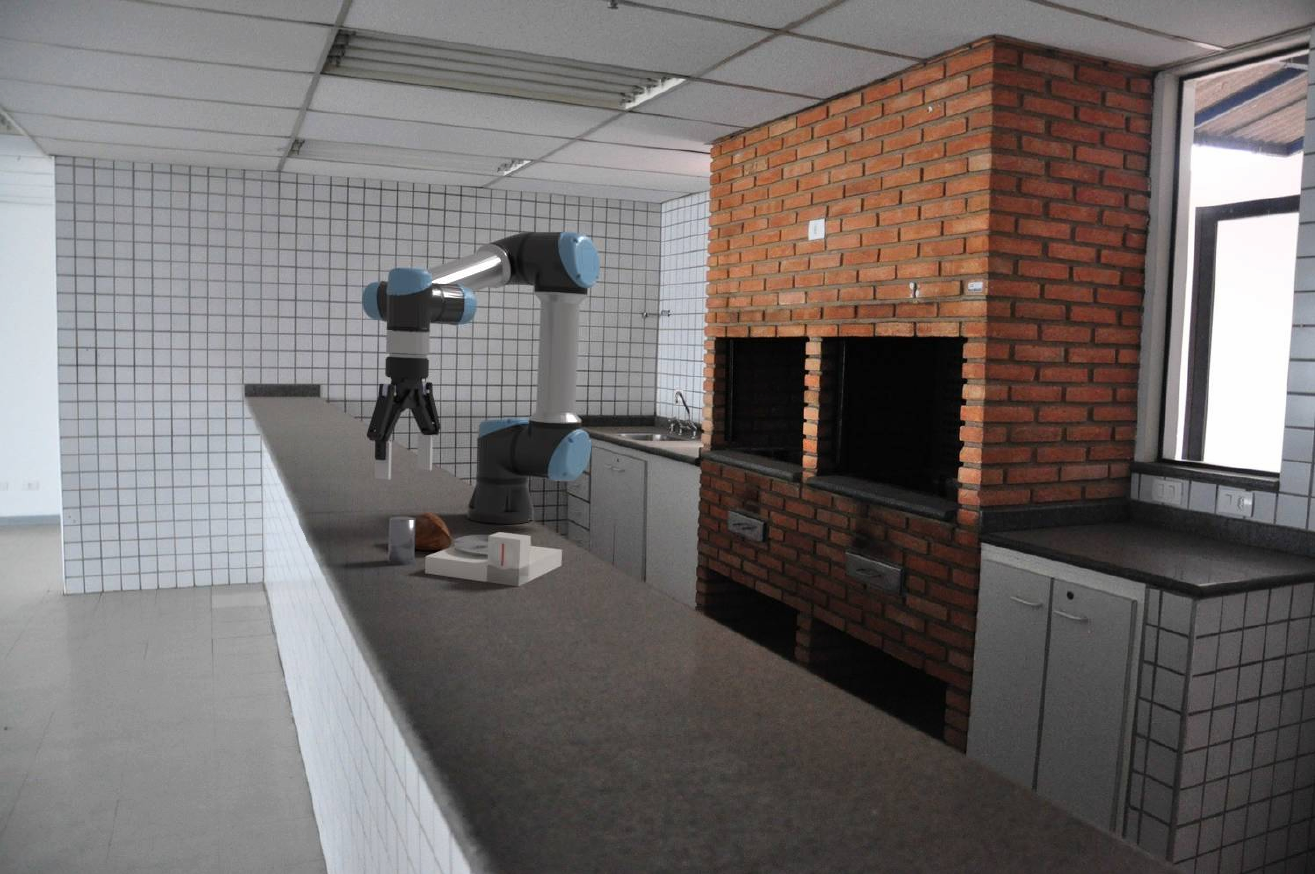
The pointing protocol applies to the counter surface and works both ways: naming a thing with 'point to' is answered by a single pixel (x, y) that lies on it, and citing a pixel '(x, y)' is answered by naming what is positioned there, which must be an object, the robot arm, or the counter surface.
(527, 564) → the scale
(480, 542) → the pan
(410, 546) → the metal cylinder
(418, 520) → the brown lumpy chunk
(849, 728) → the counter surface
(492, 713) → the counter surface
